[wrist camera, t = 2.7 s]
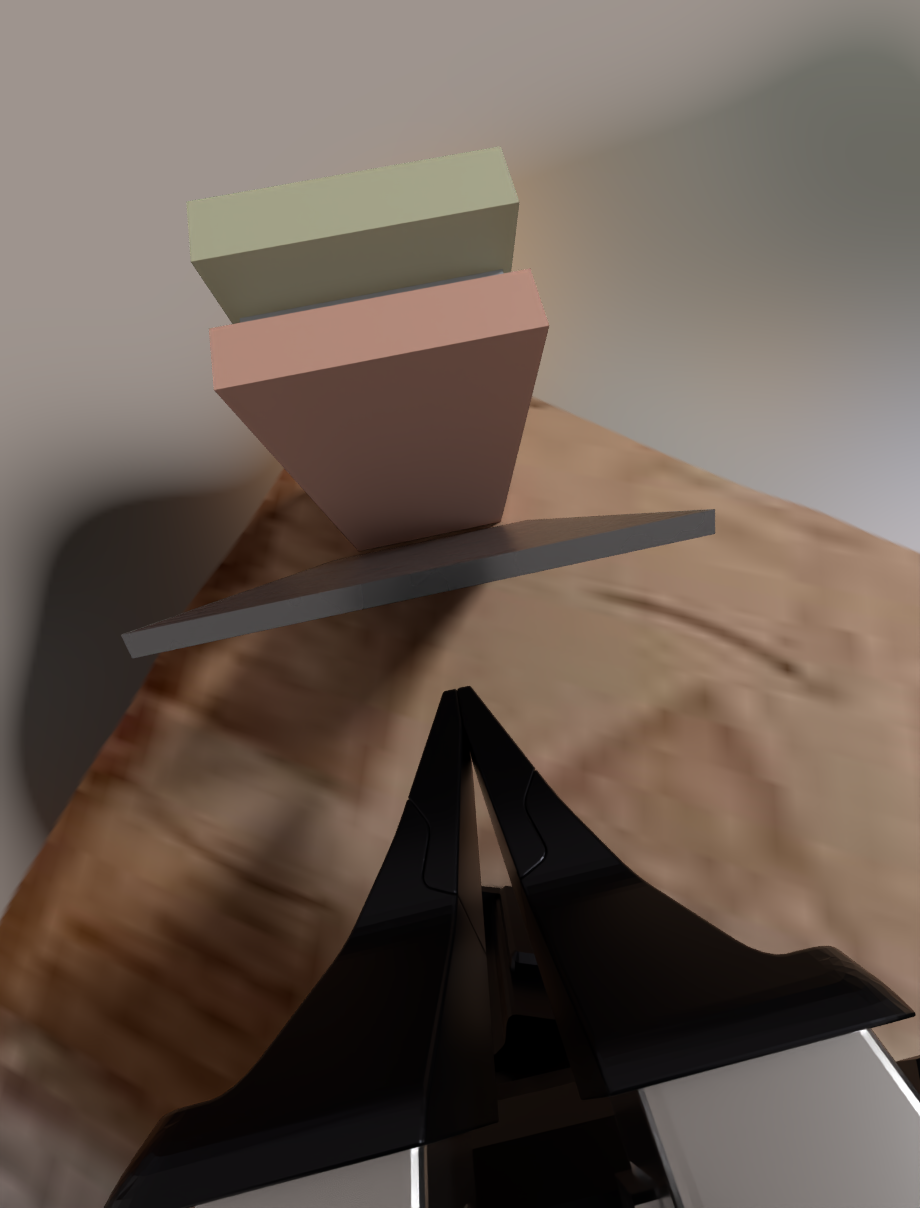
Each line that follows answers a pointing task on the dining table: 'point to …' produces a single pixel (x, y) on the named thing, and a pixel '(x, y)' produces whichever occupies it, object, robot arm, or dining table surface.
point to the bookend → (420, 573)
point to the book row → (379, 338)
